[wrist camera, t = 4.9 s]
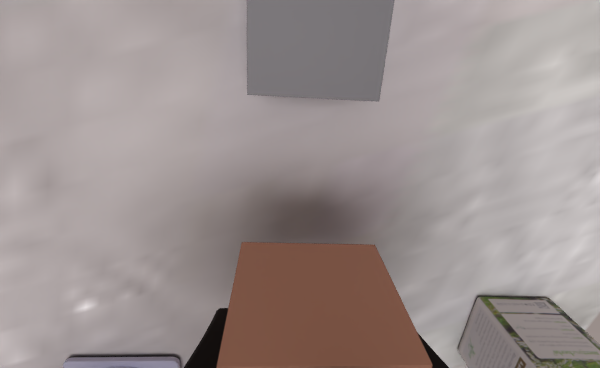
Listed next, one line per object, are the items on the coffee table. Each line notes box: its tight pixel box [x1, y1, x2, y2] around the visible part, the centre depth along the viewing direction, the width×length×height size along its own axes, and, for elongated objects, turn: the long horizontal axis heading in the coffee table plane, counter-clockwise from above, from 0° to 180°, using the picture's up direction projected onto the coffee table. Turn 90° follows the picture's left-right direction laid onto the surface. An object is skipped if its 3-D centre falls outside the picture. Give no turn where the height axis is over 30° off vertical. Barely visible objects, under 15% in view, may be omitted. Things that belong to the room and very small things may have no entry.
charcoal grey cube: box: [247, 0, 394, 101], centre depth 13 cm, size 5×5×5 cm
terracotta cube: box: [217, 242, 433, 368], centre depth 11 cm, size 5×5×5 cm
